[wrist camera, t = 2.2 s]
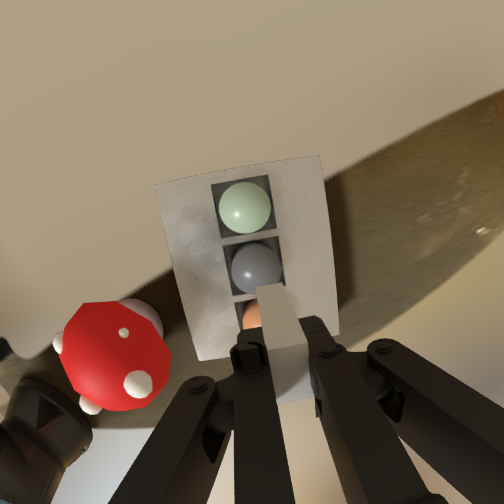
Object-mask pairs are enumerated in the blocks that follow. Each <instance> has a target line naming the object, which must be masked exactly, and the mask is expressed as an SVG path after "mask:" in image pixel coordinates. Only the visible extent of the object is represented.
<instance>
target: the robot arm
mask: <svg viewBox="0 0 504 504" xmlns="http://www.w3.org/2000/svg"><path fill="white" fill-rule="evenodd" d="M255 288H256V294H257V300H258V306H259V312H260V318H261V324H262V326H261V327H255V328H249V329H243V330H241V331H240V332H239V334H238V335H237V344H235V345H234V346H233V347H232V348H231V349H230V352H229V353H230V357H231V361H232V365H233V369H234V373H233V374H232V375H231V376H229V377H228V378H226V379H223V380H221V381H218V382H215V381H214V379H212V378H210V377H207V376H196V377H193V378H190V379H188V380H187V381H185V382H184V383H183V384H182V385H181V386H180V388H179V390H178V391H177V393H176V395H175V396H174V398H173V400H172V401H171V403H170V404H169V406H168V408H167V409H166V411H165V413H164V414H163V416H162V417H161V419H160V421H159V422H158V424H157V426H156V427H155V429H154V430H153V432H152V434H151V435H150V437H149V438H148V440H147V442H146V443H145V445H144V447H143V448H142V450H141V451H140V453H139V455H138V456H137V458H136V460H135V461H134V463H133V464H132V466H131V467H130V469H129V471H128V472H127V474H126V476H125V477H124V479H123V480H122V482H121V483H120V485H119V487H118V488H117V490H116V491H115V493H114V494H113V496H112V498H111V499H110V501H109V502H108V504H206V503H207V501H208V498H209V495H210V493H211V490H212V487H213V485H214V482H215V479H216V476H217V473H218V471H219V468H220V465H221V462H222V459H223V457H224V454H225V451H226V448H227V445H228V442H229V439H230V436H231V431H232V430H234V491H235V492H234V495H235V504H295V498H294V493H293V488H292V482H291V477H290V472H289V466H288V461H287V455H286V450H285V444H284V439H283V433H282V428H281V423H280V417H279V412H278V406H277V404H280V403H286V402H291V401H296V400H300V399H305V398H310V397H313V394H312V390H313V393H314V396H315V410H316V417H319V418H320V421H321V424H322V427H323V430H324V433H325V436H326V439H327V442H328V445H329V449H330V452H331V455H332V458H333V461H334V464H335V467H336V470H337V473H338V476H339V479H340V483H341V486H342V489H343V492H344V495H345V498H346V501H347V504H449V503H448V502H447V501H446V499H445V498H444V497H443V496H441V495H440V494H432V493H431V492H429V490H428V489H427V487H426V486H425V484H424V482H423V480H422V478H421V476H420V475H419V473H418V471H417V470H416V467H415V466H414V464H413V462H412V461H411V459H410V457H409V455H408V453H407V451H406V450H405V448H404V446H403V445H402V443H401V441H400V439H399V438H398V436H399V437H400V438H401V439H402V440H403V441H404V442H405V443H406V444H407V445H408V446H410V447H411V448H412V449H413V450H414V451H415V452H416V453H417V454H418V455H419V456H420V457H421V458H422V459H424V460H425V461H426V462H427V463H428V464H429V465H430V466H431V467H432V468H433V469H434V470H435V471H437V472H438V473H439V474H440V475H441V476H442V477H443V478H444V479H445V480H446V481H447V482H449V483H450V484H451V485H452V486H453V487H454V488H455V489H456V490H458V491H459V492H460V493H461V494H462V495H463V496H464V497H465V498H466V499H468V500H469V501H470V502H471V503H472V504H504V408H502V407H501V406H499V405H498V404H496V403H494V402H493V401H491V400H490V399H488V398H486V397H485V396H483V395H482V394H480V393H479V392H477V391H475V390H474V389H472V388H471V387H469V386H468V385H466V384H464V383H463V382H461V381H460V380H458V379H456V378H455V377H453V376H452V375H450V374H448V373H447V372H445V371H444V370H442V369H441V368H439V367H437V366H436V365H434V364H433V363H431V362H429V361H428V360H426V359H425V358H423V357H421V356H420V355H418V354H417V353H415V352H413V351H412V350H410V349H409V348H407V347H405V346H404V345H402V344H401V343H399V342H397V341H395V340H393V339H386V338H384V339H378V340H375V341H373V342H371V343H370V344H369V345H368V347H367V351H366V352H349V351H347V350H346V348H345V347H344V346H343V345H341V344H338V343H336V342H335V341H334V339H333V337H332V336H331V334H330V332H329V330H328V329H327V327H326V325H325V324H324V322H323V320H322V319H321V318H319V317H317V316H315V315H313V316H308V317H303V318H297V316H296V314H295V311H294V309H293V307H292V305H291V302H290V300H289V298H288V295H287V293H286V291H285V288H284V286H283V284H282V283H277V284H271V285H266V286H260V287H255ZM397 435H398V436H397ZM92 438H93V433H92V429H91V427H90V425H89V423H88V421H87V419H86V418H85V417H84V415H83V414H82V413H81V411H80V410H79V409H78V408H77V407H76V406H75V405H74V404H73V403H72V402H71V401H70V400H69V399H68V398H66V397H65V396H64V395H63V394H61V393H60V392H59V391H57V390H56V389H54V388H53V387H51V386H49V385H47V384H45V383H43V382H41V381H38V380H34V379H24V380H22V381H20V382H19V383H18V385H17V386H16V387H15V388H14V389H13V391H12V394H11V398H10V400H9V404H8V407H7V410H6V414H5V417H4V419H3V421H2V422H1V423H0V504H51V502H52V499H53V497H54V495H55V492H56V490H57V488H58V486H59V483H60V481H61V479H62V476H63V474H64V472H65V470H66V468H67V467H68V466H70V465H71V464H72V463H73V462H74V461H76V460H77V458H79V457H80V455H82V454H84V453H85V452H86V451H87V449H88V448H89V446H90V444H91V442H92Z"/></svg>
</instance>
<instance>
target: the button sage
mask: <svg viewBox="0 0 504 504" xmlns="http://www.w3.org/2000/svg"><path fill="white" fill-rule="evenodd" d="M270 211H271V205H270V200H269V197H268V195H267V194H266V192H265V191H264V190H263V189H262V188H261V187H259V186H258V185H256V184H253V183H249V182H241V183H237V184H234V185H232V186H231V187H229V188H228V189H227V190H226V191H225V192H224V193H223V195H222V197H221V199H220V203H219V213H220V216H221V219H222V221H223V222H224V224H225V225H226V226H227V227H228V228H230V229H231V230H233V231H235V232H238V233H252V232H255V231H257V230H259V229H260V228H261V227H262V226H263V225H264V224H265V223H266V222H267V220H268V218H269V215H270Z"/></svg>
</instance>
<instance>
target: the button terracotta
mask: <svg viewBox="0 0 504 504" xmlns="http://www.w3.org/2000/svg"><path fill="white" fill-rule="evenodd" d="M261 326H262V324H261V318H260V312H259V306H258V300H257V299H255V300H253V301H252V302H250V303H249V304H248V305H247V306H246V308H245V309H244V312H243V329H249V328H255V327H261Z"/></svg>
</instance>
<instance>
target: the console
mask: <svg viewBox="0 0 504 504" xmlns="http://www.w3.org/2000/svg"><path fill="white" fill-rule="evenodd" d="M241 182H249V183H253V184H256V185H258V186H259V187H261V188H262V189H263V190H264V191H265V192H266V194H267V195H268V197H269V200H270V205H271V211H270V215H269V218H268V220H267V222H266V223H265V224H264V225H263V226H262V227H261V228H260V229H259V230H257V231H255V232H252V233H238V232H235V231H233V230H231V229H230V228H228V227H227V226H226V225H225V224H224V222H223V221H222V219H221V216H220V213H219V203H220V199H221V197H222V195H223V193H224V192H225V191H226V190H227V189H228V188H229V187H231V186H232V185H234V184H237V183H241ZM155 187H156V192H157V197H158V202H159V207H160V212H161V217H162V222H163V226H164V231H165V236H166V240H167V244H168V249H169V253H170V258H171V262H172V266H173V270H174V274H175V278H176V282H177V286H178V290H179V293H180V297H181V301H182V304H183V308H184V312H185V315H186V319H187V322H188V326H189V329H190V333H191V336H192V339H193V343H194V346H195V349H196V352H197V356H198V359H199V361H204V360H211V359H218V358H225V357H230V353H229V352H230V349H231V348H232V347H233V346H234V345H235V344H237V335H238V334H239V332H240V331H241V330H243V312H244V309H245V308H246V306H247V305H248V304H249V303H250V302H252V301H253V300H255V299H257V295H251V294H248V293H245V292H243V291H242V290H240V289H239V288H238V287H237V286H236V284H235V283H234V281H233V278H232V259H233V256H234V254H235V252H236V251H237V250H238V249H239V248H240V247H241V246H243V245H245V244H247V243H251V242H258V243H263V244H265V245H267V246H268V247H269V248H271V249H272V251H273V252H274V254H275V255H276V257H277V259H278V261H279V263H280V266H281V275H280V278H279V281H278V283H282V284H283V286H284V288H285V291H286V293H287V295H288V298H289V300H290V302H291V305H292V307H293V309H294V311H295V314H296V316H297V318H303V317H308V316H313V315H315V316H317V317H319V318H321V319H322V320H323V322H324V324H325V325H326V327H327V329H328V330H329V332H330V334H331V336H335V335H339V320H338V304H337V291H336V279H335V268H334V258H333V248H332V239H331V231H330V223H329V215H328V208H327V201H326V194H325V187H324V180H323V174H322V169H321V163H320V156H319V155H318V156H310V157H302V158H294V159H287V160H280V161H273V162H267V163H261V164H254V165H248V166H242V167H237V168H231V169H226V170H220V171H215V172H210V173H205V174H201V175H195V176H191V177H186V178H182V179H177V180H173V181H168V182H164V183H160V184H156V185H155Z"/></svg>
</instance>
